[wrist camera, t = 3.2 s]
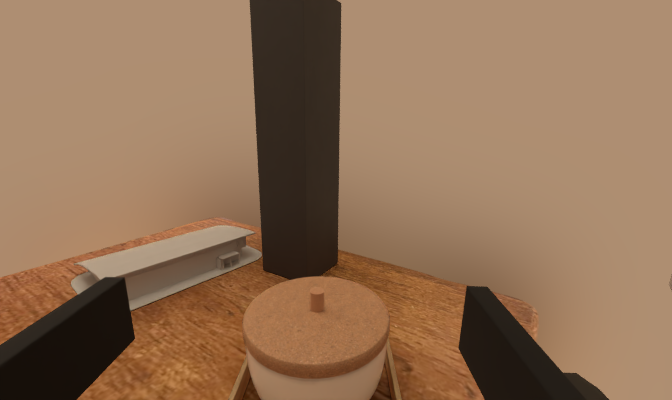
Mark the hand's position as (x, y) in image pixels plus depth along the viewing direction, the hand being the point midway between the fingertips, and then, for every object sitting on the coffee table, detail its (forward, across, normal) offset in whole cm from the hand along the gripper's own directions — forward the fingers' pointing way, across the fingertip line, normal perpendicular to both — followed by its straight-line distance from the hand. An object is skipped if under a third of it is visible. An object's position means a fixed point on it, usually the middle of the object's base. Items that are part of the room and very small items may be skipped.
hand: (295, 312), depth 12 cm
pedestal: (+32, -4, -14) cm, 36 cm away
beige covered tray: (+32, -23, -14) cm, 42 cm away
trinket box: (+10, 0, -14) cm, 17 cm away
